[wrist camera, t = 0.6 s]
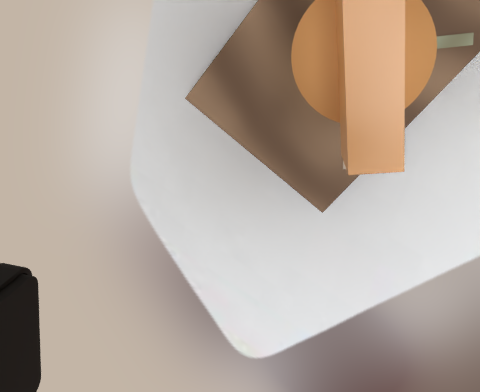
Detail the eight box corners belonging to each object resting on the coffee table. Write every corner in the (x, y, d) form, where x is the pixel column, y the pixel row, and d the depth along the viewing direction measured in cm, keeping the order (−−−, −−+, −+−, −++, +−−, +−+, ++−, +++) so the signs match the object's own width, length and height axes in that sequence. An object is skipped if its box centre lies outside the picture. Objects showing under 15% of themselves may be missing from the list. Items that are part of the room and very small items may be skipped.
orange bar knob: (287, -34, 25) (279, -68, 18) (418, -52, 24) (471, -97, 16) (299, 152, 28) (297, 191, 21) (415, 144, 27) (459, 181, 20)
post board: (368, -141, 30) (390, -204, 22) (517, 1, 31) (585, -14, 24) (191, 95, 36) (161, 108, 29) (321, 204, 38) (326, 243, 30)
